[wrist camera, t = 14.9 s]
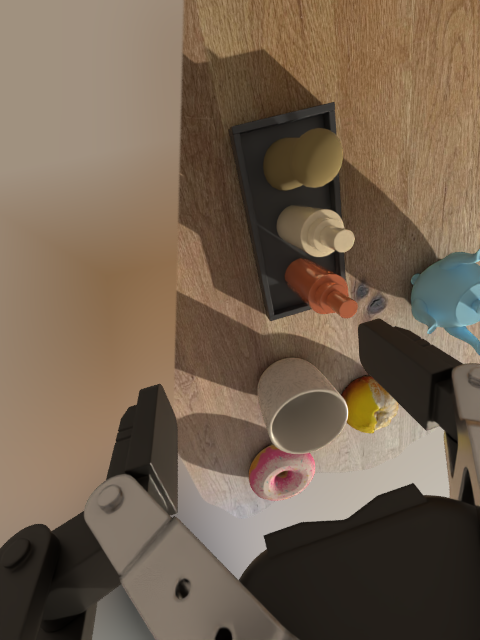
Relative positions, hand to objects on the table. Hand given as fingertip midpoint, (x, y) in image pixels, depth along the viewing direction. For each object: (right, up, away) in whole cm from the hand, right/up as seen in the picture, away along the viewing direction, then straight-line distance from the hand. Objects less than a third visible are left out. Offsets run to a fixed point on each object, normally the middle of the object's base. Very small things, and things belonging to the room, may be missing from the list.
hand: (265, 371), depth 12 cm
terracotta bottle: (+8, +9, +33) cm, 35 cm away
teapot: (+32, +8, +39) cm, 51 cm away
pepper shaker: (+5, +22, +26) cm, 35 cm away
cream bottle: (+7, +15, +29) cm, 34 cm away
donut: (+7, -27, +50) cm, 57 cm away
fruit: (+23, -13, +47) cm, 54 cm away
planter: (+7, -9, +42) cm, 43 cm away
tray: (+6, +16, +30) cm, 35 cm away
